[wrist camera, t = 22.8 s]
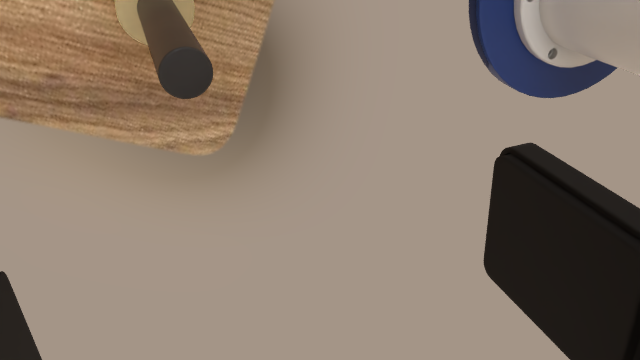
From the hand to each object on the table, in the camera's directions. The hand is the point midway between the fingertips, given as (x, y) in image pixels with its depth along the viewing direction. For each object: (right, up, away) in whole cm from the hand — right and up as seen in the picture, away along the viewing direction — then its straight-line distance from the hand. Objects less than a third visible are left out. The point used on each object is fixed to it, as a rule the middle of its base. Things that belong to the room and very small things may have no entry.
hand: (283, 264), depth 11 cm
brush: (-10, +13, +23) cm, 28 cm away
